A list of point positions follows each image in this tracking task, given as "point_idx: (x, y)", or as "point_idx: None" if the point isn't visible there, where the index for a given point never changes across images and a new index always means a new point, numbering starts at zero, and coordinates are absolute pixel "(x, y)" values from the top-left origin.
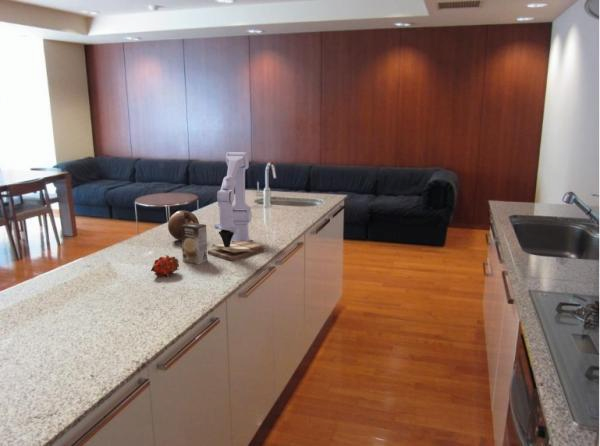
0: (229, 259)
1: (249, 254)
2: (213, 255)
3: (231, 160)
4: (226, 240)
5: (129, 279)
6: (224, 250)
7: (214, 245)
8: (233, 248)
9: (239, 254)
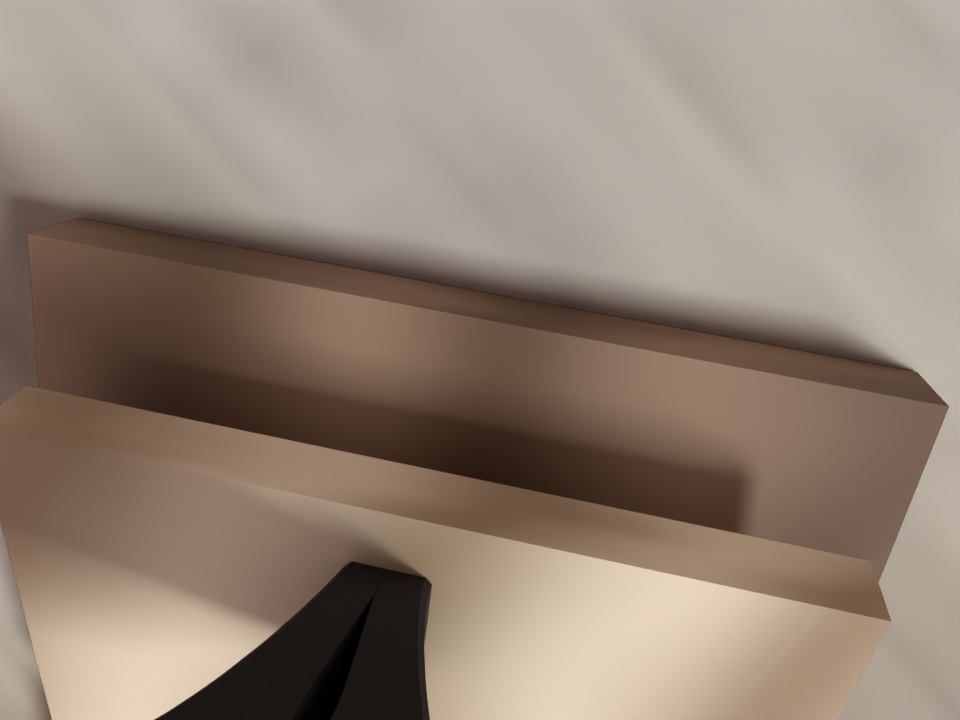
0: (125, 233)
1: None
2: (693, 332)
3: None
4: (217, 690)
5: None
6: None
7: (797, 579)
8: (135, 556)
9: None
